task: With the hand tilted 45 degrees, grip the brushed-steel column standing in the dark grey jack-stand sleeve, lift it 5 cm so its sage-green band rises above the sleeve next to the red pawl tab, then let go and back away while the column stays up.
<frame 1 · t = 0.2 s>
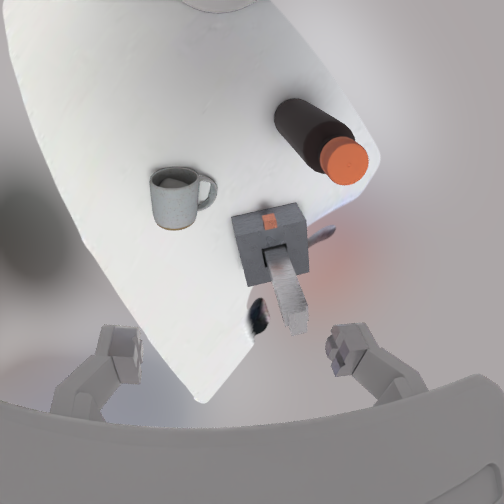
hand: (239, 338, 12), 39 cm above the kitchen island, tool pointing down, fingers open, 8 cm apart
stand sleeve: (268, 236, 58), on the kitchen island
bottle: (294, 117, 45), on the kitchen island
ceramic mug: (183, 186, 50), on the kitchen island
column: (281, 273, 50), point 11 cm above the kitchen island, slide at 0.0 cm
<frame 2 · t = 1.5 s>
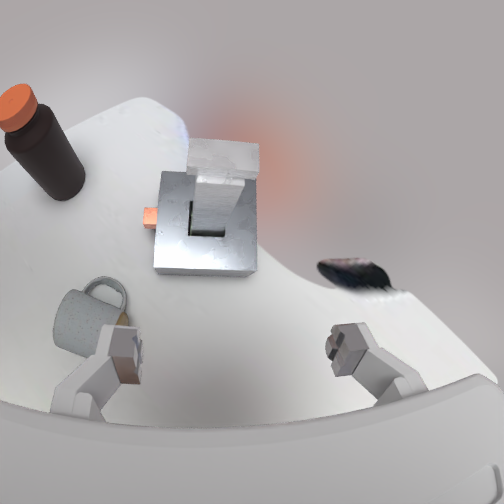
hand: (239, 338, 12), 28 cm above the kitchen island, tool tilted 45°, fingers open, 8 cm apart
stand sleeve: (203, 232, 42), on the kitchen island
bottle: (66, 181, 39), on the kitchen island
ceramic mug: (100, 317, 37), on the kitchen island
column: (210, 204, 32), point 11 cm above the kitchen island, slide at 0.0 cm
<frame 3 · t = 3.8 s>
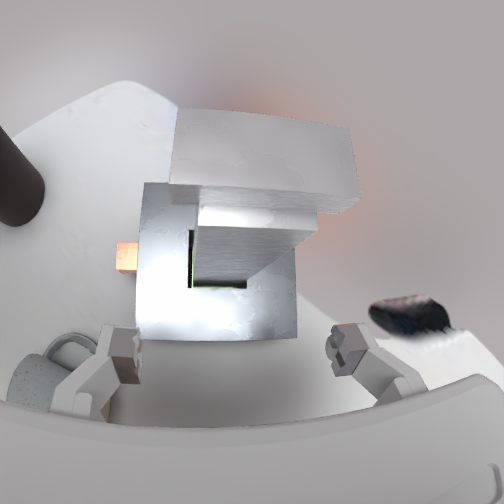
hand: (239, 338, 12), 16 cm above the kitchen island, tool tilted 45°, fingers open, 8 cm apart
stand sleeve: (211, 271, 28), on the kitchen island
bottle: (22, 198, 26), on the kitchen island
ceramic mug: (74, 385, 23), on the kitchen island
column: (224, 243, 18), point 11 cm above the kitchen island, slide at 0.0 cm
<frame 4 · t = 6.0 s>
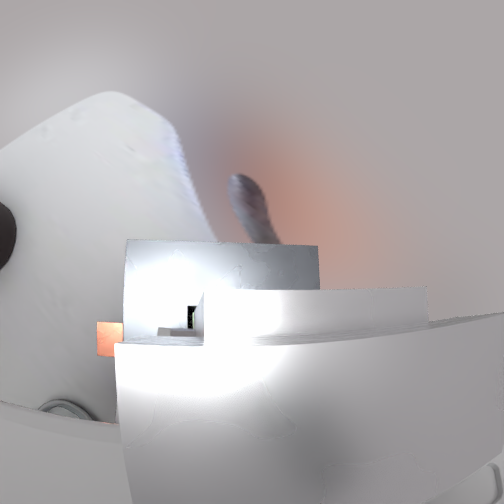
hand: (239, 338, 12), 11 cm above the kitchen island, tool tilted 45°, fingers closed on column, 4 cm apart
stand sleeve: (216, 337, 23), on the kitchen island
ceramic mug: (67, 450, 18), on the kitchen island
column: (237, 351, 13), point 11 cm above the kitchen island, slide at 0.0 cm, touching gripper
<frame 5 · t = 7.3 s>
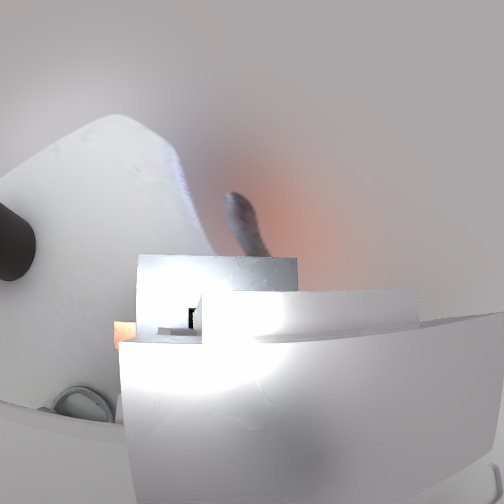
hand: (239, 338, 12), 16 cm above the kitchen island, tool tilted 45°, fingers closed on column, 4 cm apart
stand sleeve: (213, 334, 27), on the kitchen island
bottle: (13, 249, 24), on the kitchen island
ceramic mug: (82, 432, 22), on the kitchen island
column: (236, 350, 13), point 15 cm above the kitchen island, slide at 3.9 cm, touching gripper
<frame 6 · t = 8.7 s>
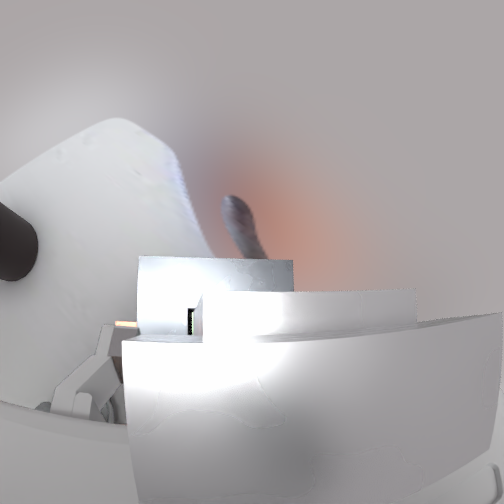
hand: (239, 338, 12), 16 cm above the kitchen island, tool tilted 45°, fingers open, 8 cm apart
stand sleeve: (211, 333, 28), on the kitchen island
bottle: (15, 250, 25), on the kitchen island
column: (235, 350, 13), point 15 cm above the kitchen island, slide at 4.7 cm
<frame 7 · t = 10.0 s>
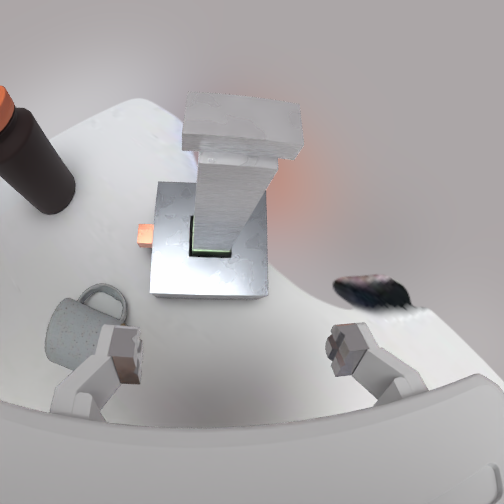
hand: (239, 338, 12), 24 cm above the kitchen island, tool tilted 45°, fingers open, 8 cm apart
stand sleeve: (207, 249, 37), on the kitchen island
bottle: (55, 192, 35), on the kitchen island
ceramic mug: (99, 328, 33), on the kitchen island
column: (219, 203, 23), point 15 cm above the kitchen island, slide at 4.7 cm
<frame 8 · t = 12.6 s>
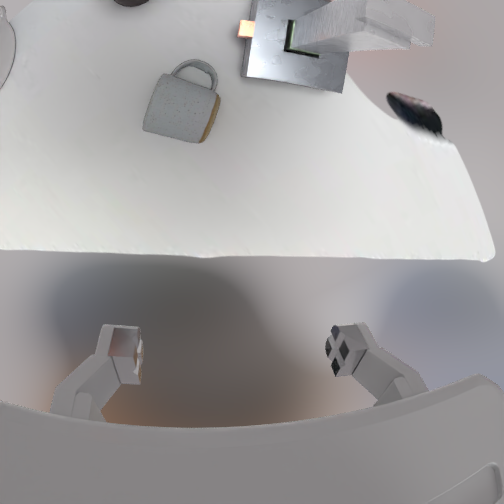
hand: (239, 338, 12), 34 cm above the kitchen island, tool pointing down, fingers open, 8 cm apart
stand sleeve: (290, 43, 34), on the kitchen island
ceramic mug: (185, 97, 36), on the kitchen island
column: (335, 29, 21), point 15 cm above the kitchen island, slide at 4.7 cm
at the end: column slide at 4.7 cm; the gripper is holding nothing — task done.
